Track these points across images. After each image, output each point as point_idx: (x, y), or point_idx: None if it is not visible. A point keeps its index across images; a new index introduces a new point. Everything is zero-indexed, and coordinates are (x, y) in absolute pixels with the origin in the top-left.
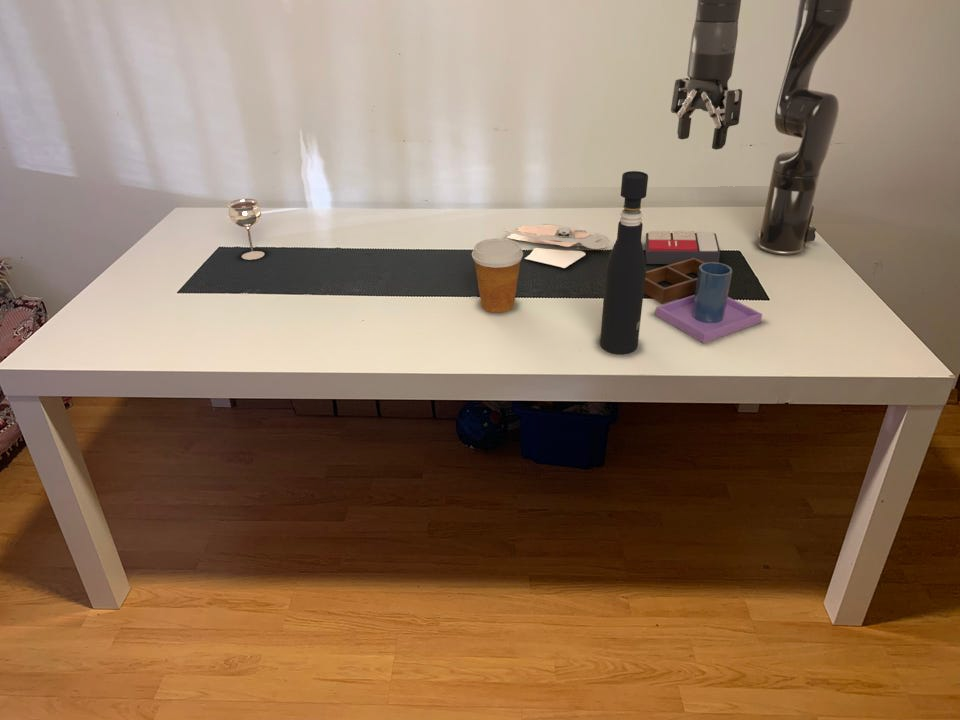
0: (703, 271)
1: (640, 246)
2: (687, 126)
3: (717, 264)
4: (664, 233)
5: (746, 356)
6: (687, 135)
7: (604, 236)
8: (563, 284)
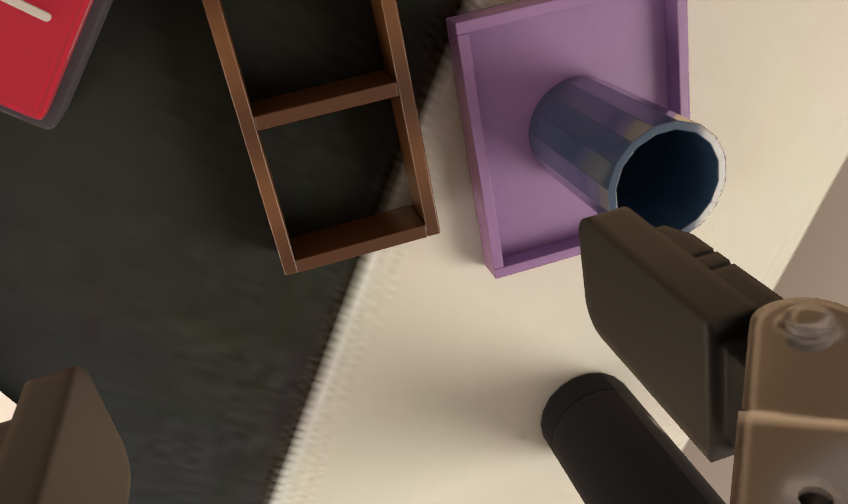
0: None
1: None
2: (72, 495)
3: (632, 149)
4: None
5: (779, 135)
6: (85, 398)
7: None
8: (181, 456)
